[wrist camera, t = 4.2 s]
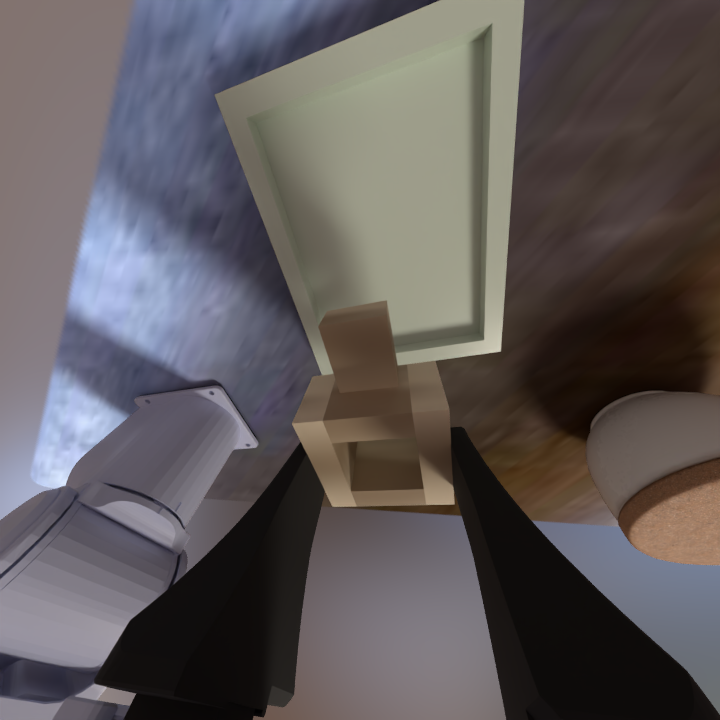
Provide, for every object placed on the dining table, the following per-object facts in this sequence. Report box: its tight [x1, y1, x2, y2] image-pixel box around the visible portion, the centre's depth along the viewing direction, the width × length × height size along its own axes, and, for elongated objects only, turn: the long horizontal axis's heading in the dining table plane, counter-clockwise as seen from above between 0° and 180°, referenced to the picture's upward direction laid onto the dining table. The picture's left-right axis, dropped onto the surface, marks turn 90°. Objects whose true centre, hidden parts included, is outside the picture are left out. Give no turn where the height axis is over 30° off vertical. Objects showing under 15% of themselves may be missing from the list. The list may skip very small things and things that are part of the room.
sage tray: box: [215, 0, 524, 375], centre depth 14 cm, size 12×15×2 cm
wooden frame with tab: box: [292, 300, 454, 507], centre depth 11 cm, size 9×6×3 cm, turn 13°
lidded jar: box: [586, 390, 720, 565], centre depth 16 cm, size 11×11×9 cm
